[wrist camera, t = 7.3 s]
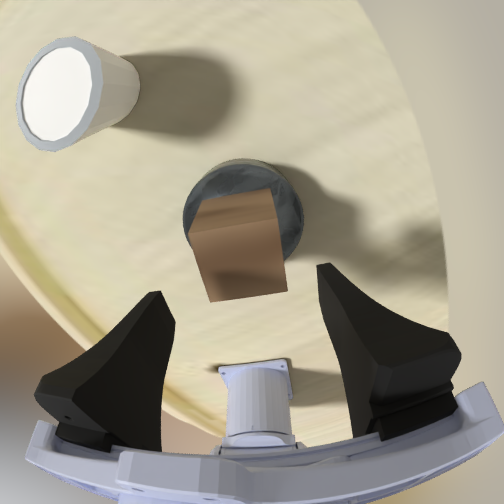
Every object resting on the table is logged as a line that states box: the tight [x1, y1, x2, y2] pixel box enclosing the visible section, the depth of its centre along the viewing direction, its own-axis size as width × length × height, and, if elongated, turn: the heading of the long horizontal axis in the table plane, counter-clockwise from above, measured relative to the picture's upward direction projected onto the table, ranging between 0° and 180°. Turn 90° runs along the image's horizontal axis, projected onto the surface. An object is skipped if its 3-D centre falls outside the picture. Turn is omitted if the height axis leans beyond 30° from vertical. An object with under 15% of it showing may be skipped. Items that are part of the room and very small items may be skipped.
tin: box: [183, 158, 304, 260], centre depth 20 cm, size 8×8×3 cm
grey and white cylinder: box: [16, 37, 140, 152], centre depth 13 cm, size 7×7×7 cm
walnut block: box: [188, 188, 288, 302], centre depth 17 cm, size 4×4×5 cm
